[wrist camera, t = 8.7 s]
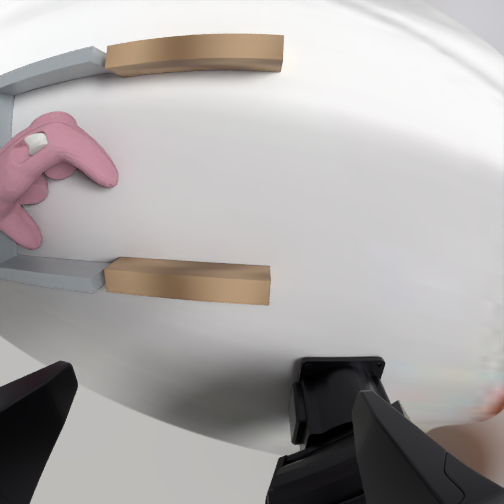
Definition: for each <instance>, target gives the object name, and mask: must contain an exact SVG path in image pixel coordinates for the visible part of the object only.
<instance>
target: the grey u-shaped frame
mask: <svg viewBox="0 0 504 504" xmlns="http://www.w3.org/2000/svg"><path fill="white" fill-rule="evenodd" d="M105 61H106V53H104V52H102V51H101V50H99V49H97V48H95V47H94V46H91V47H87V48H83V49H79V50H75V51H71V52H68V53H64V54H60V55H57V56H54V57H50V58H47V59H44V60H41V61H38V62H35V63H32V64H29V65H26V66H23V67H21V68H18V69H15V70H13V71H10V72H8V73H5V74H3V75H0V150H1V148H2V147H3V146H4V145H5V144H6V143H8V142H9V141H10V140H11V129H12V114H13V103H14V95H17V94H20V93H23V92H26V91H30V90H33V89H37V88H40V87H44V86H48V85H52V84H55V83H60V82H64V81H68V80H72V79H77V78H82V77H87V76H92V75H97V74H103V73H109V72H110V71H108V70H106V69H105ZM110 264H112V263H105V262H93V261H81V260H69V259H58V258H47V257H36V256H25V255H18V252H17V245H16V242H15V241H14V240H12V239H11V238H10V237H9V236H7V235H6V234H5V233H4V232H3V231H1V230H0V280H6V281H11V282H17V283H23V284H29V285H35V286H42V287H48V288H55V289H62V290H69V291H76V292H84V293H91V294H94V293H95V292H96V291H97V290H98V289H99V288H100V287H102V286H103V285H104V284H105V283H106V281H105V273H104V269H105V268H106V267H108V266H109V265H110Z"/></svg>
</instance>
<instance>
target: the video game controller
mask: <svg viewBox="0 0 504 504" xmlns="http://www.w3.org/2000/svg"><path fill="white" fill-rule="evenodd" d="M77 168H78V169H79V170H81V171H82V172H83V173H84V174H86V175H87V176H88V177H89V178H91V179H92V180H93V181H94V182H96V183H97V184H99V185H102V186H104V187H114V186H116V185H117V183H118V171H117V169H116V167H115V165H114V163H113V161H112V160H111V158H110V157H109V156H108V154H107V153H106V152H105V151H104V149H103V148H102V147H101V146H100V145H99V144H98V143H97V142H96V141H95V140H94V139H93V138H92V137H91V136H89V135H88V134H87V133H86V132H85V131H84V130H82V129H81V128H80V127H79V126H78V125H77V123H76V121H75V119H74V118H73V117H72V116H71V115H69V114H68V113H65V112H50V113H47V114H44V115H42V116H40V117H38V118H37V119H35V120H34V121H33V122H32V123H31V125H30V126H29V127H28V128H26V129H25V130H23V131H21V132H20V133H19V134H17V135H16V136H15V137H13V138H12V139H11V140H10V141H9V142H8V143H6V144H5V145H4V146H3V147H2V148H1V150H0V230H1V231H3V232H4V233H5V234H6V235H7V236H9V237H10V238H11V239H12V240H14V241H15V242H16V243H18V244H19V245H20V246H22V247H24V248H27V249H30V250H34V249H37V248H39V247H40V246H41V243H42V236H41V233H40V230H39V228H38V226H37V225H36V223H35V222H34V220H33V219H32V218H31V216H30V215H29V214H28V213H27V212H26V211H25V210H24V208H23V207H22V206H21V205H23V204H35V203H39V202H41V201H43V200H44V199H45V198H46V197H47V195H48V186H47V179H46V177H45V176H44V175H43V174H42V173H43V172H45V173H46V175H47V176H48V177H49V178H52V179H55V180H58V179H63V178H66V177H68V176H70V175H71V174H73V173H74V172H75V171H76V169H77Z"/></svg>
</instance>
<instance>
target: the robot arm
mask: <svg viewBox="0 0 504 504" xmlns="http://www.w3.org/2000/svg"><path fill="white" fill-rule="evenodd" d="M378 363H380V364H379V365H377V364H378ZM306 364H311V365H309V366H305V365H306ZM384 367H385V362H384V360H383V358H381V357H368V358H306V359H303V360H302V362H301V365H300V371H299V377H298V382H295V383H294V384H293V385H292V390H291V396H290V402H289V416H290V430H291V442H292V443H293V444H294V445H300V451H299V452H296V453H294V454H291V455H289V456H287V455H285V456H282V457H280V458H279V459H278V462H277V465H276V469H275V472H274V475H273V478H272V481H271V484H270V487H269V490H268V493H267V496H266V501H265V504H504V488H503V487H501V486H499V485H498V484H496V483H494V482H493V481H491V480H489V479H487V478H486V477H484V476H483V475H481V474H479V473H477V472H476V471H474V470H473V469H471V468H470V467H468V466H467V465H465V464H464V463H463V462H461V461H460V460H459V459H457V458H456V457H455V456H453V455H452V454H451V453H450V452H448V451H447V452H446V450H445V449H444V448H443V447H442V446H440V445H439V444H438V443H437V442H435V441H434V440H433V439H432V438H431V437H429V436H428V435H427V434H426V433H424V432H423V431H422V430H421V429H419V428H418V427H417V426H416V425H414V424H413V423H412V422H411V420H410V419H409V417H408V415H407V414H406V412H405V410H404V409H403V407H402V405H401V404H400V402H399V401H396V402H394V403H393V404H391V403H390V400H389V398H388V396H387V394H386V392H385V389H384V387H383V385H382V383H381V380H380V379H381V376H382V373H383V370H384ZM77 388H78V382H77V379H76V376H75V372H74V369H73V366H72V365H71V364H70V363H68V362H64V361H58V362H56V363H54V364H52V365H49V366H47V367H45V368H43V369H40V370H38V371H36V372H33V373H31V374H29V375H27V376H24V377H22V378H20V379H17V380H15V381H13V382H10V383H8V384H6V385H4V386H1V387H0V504H30V501H31V499H32V496H33V494H34V491H35V489H36V486H37V484H38V481H39V479H40V477H41V474H42V472H43V470H44V467H45V465H46V463H47V460H48V458H49V456H50V454H51V452H52V450H53V447H54V445H55V443H56V441H57V439H58V437H59V434H60V432H61V430H62V428H63V426H64V424H65V421H66V418H67V415H68V413H69V410H70V407H71V404H72V402H73V399H74V396H75V394H76V391H77Z"/></svg>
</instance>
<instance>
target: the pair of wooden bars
mask: <svg viewBox="0 0 504 504" xmlns="http://www.w3.org/2000/svg"><path fill="white" fill-rule="evenodd" d="M283 44H284V35H267V34H203V35H186V36H174V37H164V38H155V39H148V40H140V41H134V42H127V43H122V44H116V45H111V46H108V47H107V53H106V61H105V69H106V70H108V71H110V72H112V73H114V74H116V75H118V76H120V77H128V76H136V75H145V74H155V73H166V72H181V71H203V70H251V71H273V72H281V67H282V62H283ZM104 273H105V281H106V289H107V292H113V293H122V294H131V295H140V296H150V297H161V298H171V299H183V300H195V301H208V302H221V303H236V304H253V305H269V297H270V283H271V278H270V266H260V265H242V264H225V263H208V262H192V261H176V260H161V259H146V258H131V257H119V258H118V259H117V260H116V261H114V262H113V263H112V264H110V265H109V266H108V267H106V268H105V269H104Z"/></svg>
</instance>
